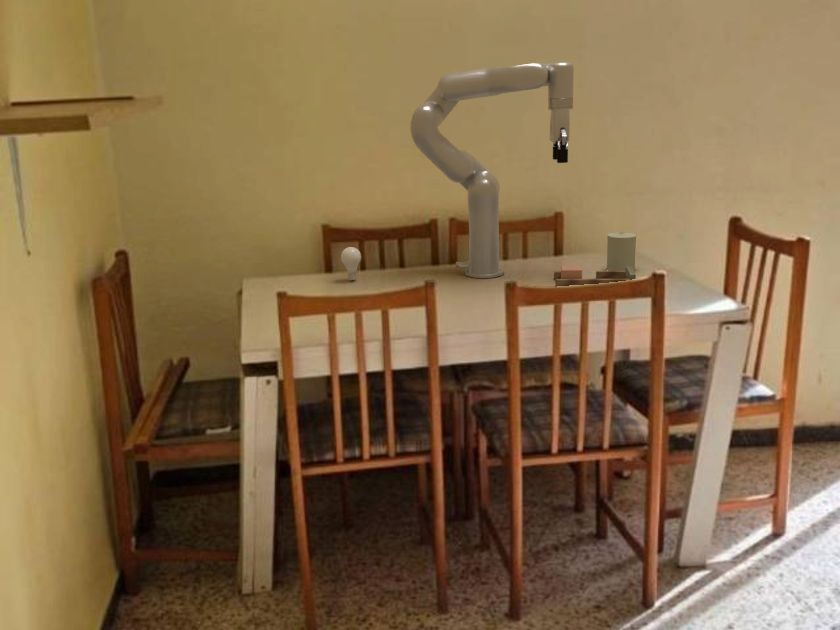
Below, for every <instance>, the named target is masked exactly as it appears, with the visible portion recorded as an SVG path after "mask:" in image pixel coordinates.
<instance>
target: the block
mask: <svg viewBox="0 0 840 630" xmlns="http://www.w3.org/2000/svg"><path fill="white" fill-rule="evenodd" d="M560 271H561V279H583V269H582V265H561V266H560Z"/></svg>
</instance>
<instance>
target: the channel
mask: <svg viewBox="0 0 840 630" xmlns="http://www.w3.org/2000/svg"><path fill="white" fill-rule="evenodd" d="M636 276H637V275H636V273H635V271H633V269H632V268H631V266H626V270H625V271H607V270H596V272H595V278H582V279H561V270H554V271H553V280H554V281H555V285H554V286H556V287H557V286H569V285H584V284H599V283H609V282H618V281H626V280H632V279H636ZM556 287H555V288H556Z"/></svg>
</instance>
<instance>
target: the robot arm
mask: <svg viewBox="0 0 840 630" xmlns="http://www.w3.org/2000/svg"><path fill="white" fill-rule="evenodd" d="M574 69H575V68H574V65H573V63H572V62H569V61H562V62H561V61H560V62H559V61H558V62H552V63H545V62H535V61H534V62H530V63H526V64H524V63H523V64H519V65H518V64H517V65H511V66H503V67H494V66H491V67H484V68H476V69H470V70H464V71H457V72H456V71H455V72H449V73H447V74H446V73H445V74H443V76H441V77H440V79H439V80H438V83H437V86H436V87H435V88H434V90H433V91H432V92H431V94H430V95H429V96H428V97H427V98H426V99H425V101H424V102H423V103H422V104H420V105H419V106H417V108H415V109H414V111H413V114H412V116H411V121H410V128H409V129H410V134H411V138H412V140H413V143H414V144H415V146H416V147H417V149H419V151H420V152H421V153H422V154H423V155H424V156H425V157H426V158H427V159H428V160H429V161H430V162H431V163H432V164H433V165H434V166H435V167H436V168H437V169H438V170H439V171H441V172H442V174H444V176H445V177H446V178H447V179H448V180H450V181H451V182H454V183H459V185H461V186H462V187H463V188H464V189H465V190H466V191H467V207H468V241H469V242H468V244H469V246H468V249H469V252H468V253H469V254H468V255H469V258H468V260H465V261H455V268H456V269H465V270H464V275H466V277H470V278H477V279H490V278H491V279H492V278H498V277H501V276H503V275H504V274H505V271H504V268H502V267H500V226H499V225H500V224H499V223H500V222H499V221H500V220H499V215H500V213H499V209H500V207H499V198H500V197H499V195H500V194H499V193H500V183H499V179H498V178H497V177H496V176H495V175H494V174H493V173H492V172H491V171H490V170H489V169H488V168H486V166H484V164H482V163H481V162H480V161H479V160H478V159H477V158H476V157H475V156H473V154H472V153H470V152H468V151H466V150H462V149H459V148H457V146H455V145H454V144H453V143H452V142H451V141H450V140H449V139H448V138H447V137H445V136H444V135H443V134H442V133H441V132H440V131H439V128H438V127H439V126H441V124H442V123H443V122H444V120H446V118H447V117H448V116H449V115H450V114H451V112H452V111H453V110H454V108H455V107H456V106H457V104H458V103H459V101H465V100H473V99H480V98H487V97H493V96H495V97H496V96H499V95H503V94H508V93H514V92H516V93H517V92H521V91H522V92H523V91H528V90H537V89H540V88H542V87H548V89H547V90H548V93H547V94H548V95H547V109H548V110H549V111H550V119H549V120H550V121H549V123H550V124H549V141H550V142H552V144H553V146H552V160H553V161H554V160H556V162H557V164H566V163H567V164H568V162H569V149H568V142H569V141H570V120H571V119H570V118H571V117H570V110H573V109H574Z"/></svg>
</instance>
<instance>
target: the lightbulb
mask: <svg viewBox="0 0 840 630" xmlns="http://www.w3.org/2000/svg"><path fill="white" fill-rule="evenodd" d="M340 259H341V262H342V264H343V265H344V266H345V269H346V271H347V279H348V280H349V281H351V282H354V281H355V280H357V270H358V266H359V264H360V263H361V260H362V254H361V252H360V250H359V249H358V248H357V247H353V246H348V247H346V248H344V249H343V250H342V251H341V255H340Z"/></svg>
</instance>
